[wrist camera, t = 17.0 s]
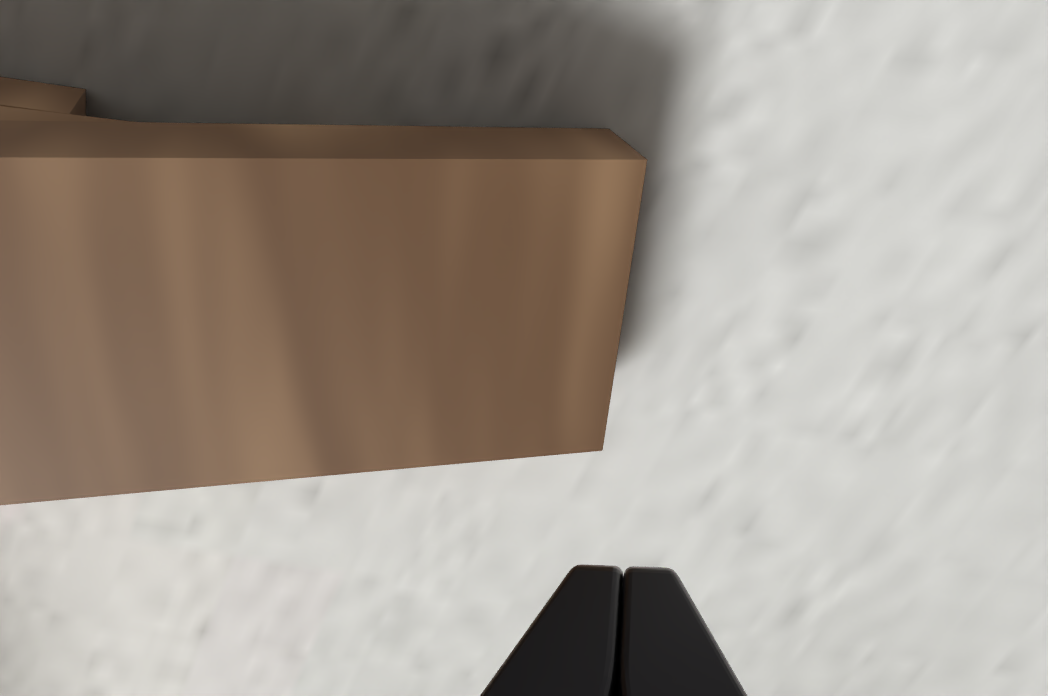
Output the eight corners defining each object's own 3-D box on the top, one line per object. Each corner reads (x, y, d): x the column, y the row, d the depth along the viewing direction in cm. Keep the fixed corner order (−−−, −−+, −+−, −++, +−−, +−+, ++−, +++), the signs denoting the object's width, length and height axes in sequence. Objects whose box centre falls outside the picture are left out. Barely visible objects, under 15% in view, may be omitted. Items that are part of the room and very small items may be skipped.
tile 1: (647, 159, 12) (-197, 156, 9) (602, 450, 15) (-81, 512, 12) (608, 128, 13) (-140, 118, 11) (573, 399, 16) (-46, 445, 13)
